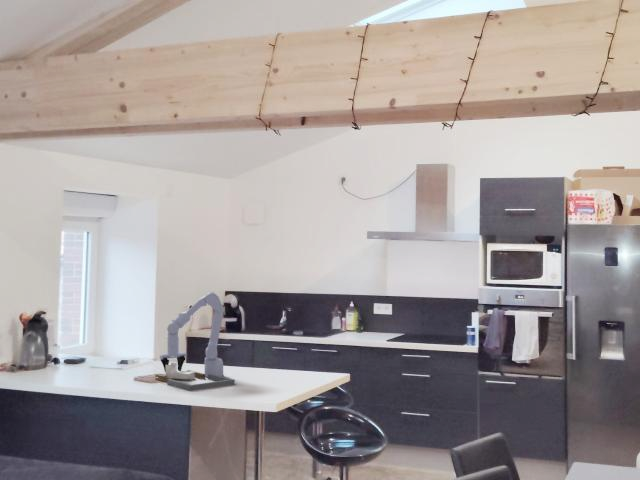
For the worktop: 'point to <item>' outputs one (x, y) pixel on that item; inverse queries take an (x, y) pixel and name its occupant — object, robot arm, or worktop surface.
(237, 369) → the worktop surface
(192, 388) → the gray u-shaped frame
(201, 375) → the brown rectangular beams
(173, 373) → the bracket
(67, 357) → the worktop surface
